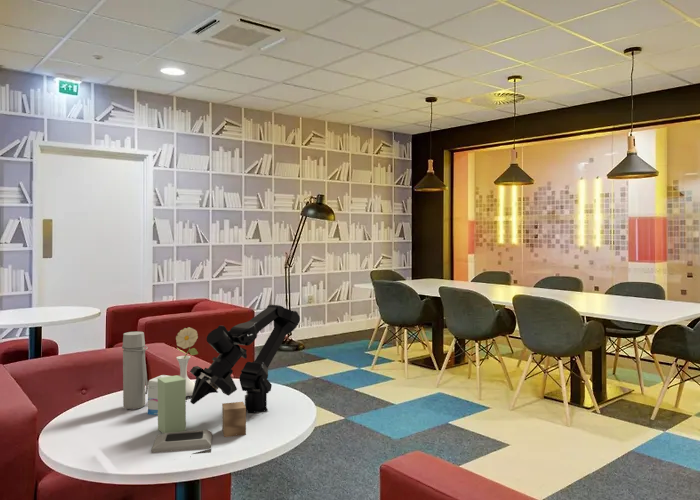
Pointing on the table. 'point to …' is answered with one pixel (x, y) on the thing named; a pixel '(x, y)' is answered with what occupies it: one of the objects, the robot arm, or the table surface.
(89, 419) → the table surface
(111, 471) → the table surface
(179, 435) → the grey tray
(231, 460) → the table surface
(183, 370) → the flower in vase
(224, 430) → the walnut block
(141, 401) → the water bottle
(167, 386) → the sage key
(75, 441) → the table surface
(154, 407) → the ink box
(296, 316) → the robot arm
